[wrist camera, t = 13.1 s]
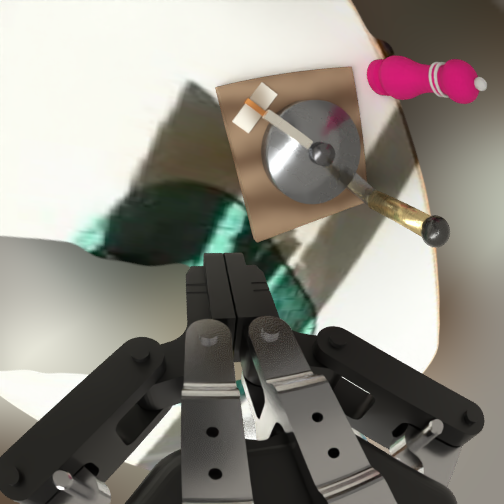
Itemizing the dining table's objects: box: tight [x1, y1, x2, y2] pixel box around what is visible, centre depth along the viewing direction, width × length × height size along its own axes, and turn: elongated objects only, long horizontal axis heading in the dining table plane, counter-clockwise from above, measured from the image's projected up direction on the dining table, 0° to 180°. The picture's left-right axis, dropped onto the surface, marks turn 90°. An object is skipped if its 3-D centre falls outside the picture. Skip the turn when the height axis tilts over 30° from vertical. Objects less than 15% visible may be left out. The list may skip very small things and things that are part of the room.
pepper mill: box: [367, 56, 487, 104], centre depth 30 cm, size 7×7×20 cm
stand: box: [215, 67, 367, 242], centre depth 39 cm, size 22×20×2 cm
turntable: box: [261, 100, 450, 247], centre depth 33 cm, size 24×14×17 cm, turn 57°
